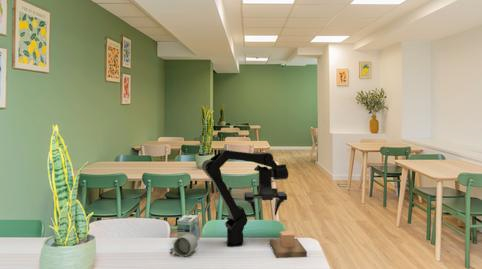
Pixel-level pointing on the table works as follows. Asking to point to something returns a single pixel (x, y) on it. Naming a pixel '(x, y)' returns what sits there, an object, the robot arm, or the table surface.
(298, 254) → the walnut board
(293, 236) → the terracotta cube
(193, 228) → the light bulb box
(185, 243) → the ceramic mug
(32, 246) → the table surface
